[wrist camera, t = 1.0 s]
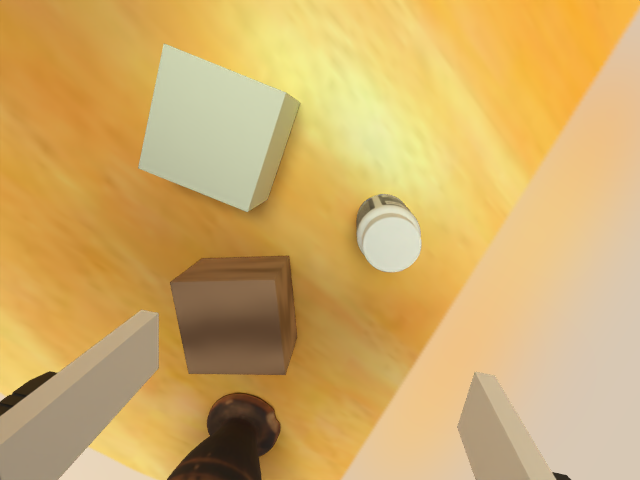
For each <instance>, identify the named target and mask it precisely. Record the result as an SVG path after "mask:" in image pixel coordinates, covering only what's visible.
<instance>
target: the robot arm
mask: <svg viewBox="0 0 640 480" xmlns="http://www.w3.org/2000/svg"><path fill="white" fill-rule="evenodd" d="M158 368H159V313H156V312H150V311H145V310H140V311H139V312H138V313H136V314H135V315H134V316H133V317H131V318H130V319H129V320H127V321H126V322H125V323H123V324H122V325H121V326H119V327H118V328H117V329H115V330H114V331H113V332H111V333H110V334H109V335H107V336H106V337H105V338H103V339H102V340H101V341H99V342H98V343H97V344H95V345H94V346H93V347H91V348H90V349H89V350H87V351H86V352H85V353H84V354H82V355H81V356H80V357H78V358H77V359H76V360H74V361H73V362H72V363H70V364H69V365H68V366H66V367H65V368H64V369H62V370H61V371H60V372H58V373H55V372H50V371H49V372H47V373H45V374H43V375H41V376H38V377H36V378H34V379H32V380H30V381H28V382H27V383H25V384H24V385H23V386H21V387H20V388H18V389H17V390H16V391H14V392H13V394H12V395H9V396H7V397H6V398H4V399H3V400H2V401H1V402H0V480H58V479H59V478H60V477H61V476H62V475H63V474H64V472H65V471H66V470H67V469H68V468H69V467H70V466H71V465H72V463H74V461H75V460H76V459H77V458H78V457H79V456H80V455H81V453H83V451H84V450H85V449H86V448H87V447H88V446H89V445H90V444H91V443H92V441H93V440H94V439H95V438H96V437H97V436H98V435H99V434H100V433H101V431H102V430H103V429H104V428H105V427H106V426H107V425H108V424H109V423H110V421H111V420H112V419H113V418H114V417H115V416H116V415H117V414H118V413H119V411H120V410H121V409H122V408H123V407H124V406H125V405H126V404H127V403H128V401H129V400H130V399H131V398H132V397H133V396H134V395H135V394H136V393H137V391H138V390H139V389H140V388H141V387H142V386H143V385H144V384H145V383H146V381H147V380H148V379H149V378H150V377H151V376H152V375H153V374H154V373H155V371H156V370H157V369H158ZM457 428H458V431H459V433H460V436H461V439H462V442H463V445H464V448H465V450H466V453H467V456H468V459H469V462H470V465H471V468H472V470H473V473H474V476H475V479H476V480H571V479H570V478H569V477H568V476H567V475H563V474H559V473H554V472H551V470H550V468H549V467H548V465H547V463H546V461H545V460H544V458H543V456H542V455H541V453H540V451H539V450H538V448H537V446H536V445H535V443H534V441H533V440H532V438H531V436H530V434H529V433H528V431H527V429H526V428H525V426H524V424H523V423H522V421H521V419H520V417H519V416H518V414H517V412H516V411H515V409H514V407H513V406H512V404H511V402H510V401H509V399H508V397H507V396H506V394H505V392H504V390H503V389H502V387H501V385H500V384H499V382H498V380H497V379H496V377H495V376H494V375H490V374H484V373H479V372H475V373H474V376H473V379H472V382H471V385H470V389H469V392H468V395H467V398H466V401H465V404H464V407H463V411H462V414H461V417H460V420H459V423H458V426H457Z"/></svg>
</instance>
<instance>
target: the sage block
mask: <svg viewBox="0 0 640 480" xmlns="http://www.w3.org/2000/svg"><path fill="white" fill-rule="evenodd" d="M299 105H300V102H299V101H297V100H296V99H295V98H293V97H292V96H290V95H289V94H287V93H286V92H283V91H281V90H278V89H276V88H273V87H271V86H268V85H266V84H263V83H261V82H258V81H256V80H253V79H251V78H248V77H246V76H243V75H241V74H238V73H236V72H234V71H231V70H229V69H226V68H224V67H221V66H219V65H216V64H214V63H211V62H209V61H206V60H204V59H201V58H199V57H196V56H194V55H191V54H189V53H186V52H184V51H181V50H179V49H176V48H174V47H172V46H169V45H167V44H164V45H163V50H162V55H161V60H160V65H159V70H158V74H157V79H156V84H155V89H154V94H153V99H152V104H151V108H150V113H149V118H148V123H147V128H146V133H145V138H144V143H143V147H142V152H141V157H140V162H139V167H138V168H139V169H141V170H144V171H146V172H149V173H151V174H154V175H156V176H159V177H161V178H164V179H166V180H169V181H171V182H174V183H176V184H179V185H181V186H184V187H186V188H189V189H191V190H194V191H196V192H199V193H201V194H204V195H206V196H209V197H211V198H214V199H216V200H219V201H221V202H224V203H226V204H229V205H231V206H234V207H236V208H239V209H241V210H243V211H246V212H249V211H250V210H252V209H253V208H255V207H256V206H258V205H260V204H261V203H263V202H264V201H266V200H267V199H268V197H269V194H270V191H271V188H272V185H273V182H274V179H275V176H276V173H277V170H278V167H279V164H280V161H281V158H282V155H283V152H284V149H285V146H286V143H287V141H288V138H289V135H290V132H291V129H292V126H293V123H294V120H295V117H296V114H297V111H298V108H299Z"/></svg>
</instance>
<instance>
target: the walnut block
mask: <svg viewBox="0 0 640 480" xmlns="http://www.w3.org/2000/svg"><path fill="white" fill-rule="evenodd" d="M170 285H171V290H172V295H173V300H174V304H175V309H176V314H177V319H178V324H179V329H180V334H181V338H182V343H183V348H184V353H185V358H186V363H187V368H188V372H189V374H255V375H286V372H287V368H288V365H289V362H290V359H291V356H292V352H293V349H294V346H295V343H296V339H297V329H296V319H295V309H294V299H293V289H292V279H291V269H290V259H289V256H266V257H234V258H202V259H200V260H199V261H198V262H196V263H195V264H194V265H192V266H191V267H190V268H188V269H187V270H186V271H184V272H183V273H182V274H180V275H179V276H178V277H176V278H175V279H174V280H172V281H171V282H170Z"/></svg>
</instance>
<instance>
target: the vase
mask: <svg viewBox="0 0 640 480" xmlns="http://www.w3.org/2000/svg"><path fill="white" fill-rule="evenodd" d="M207 428H208V432H209V435H210V437H208V438H207V439H206V440H204V441H203V442H202V443H200V444H199V445H198V446H197V447H196V448H195V449H193V450H192V451H191V452H190V453H189V454H188V455H187V456H186V457H185V458H184V459H183V461H182V462H181V463H180V464H179V465H178V466H177V468H176V469H175V470H174V471H173V472H172V474H171V475H170V476H169V477H168V479H167V480H261V470H260V463H259V457H258V456H261V455H263V454H265V453H267V452H268V451H269V450H270V449H271V448H272V447H273V445H274V444H275V442H276V440H277V438H278V435H279V433H280V424H279V422H278V421H277V420H276V418H275V415H274V410H273V409H272V408H271V407H270V406H269V405H268V404H267V403H265V402H264V401H262V400H261V399H259V398H256V397H254V396H250V395H247V394H231V395H227V396H224V397H223V398H221V399H219V400H218V401H217V402H216V403H215V404H214V405H213V406H212V408H211V410H210V412H209V415H208V419H207Z"/></svg>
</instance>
